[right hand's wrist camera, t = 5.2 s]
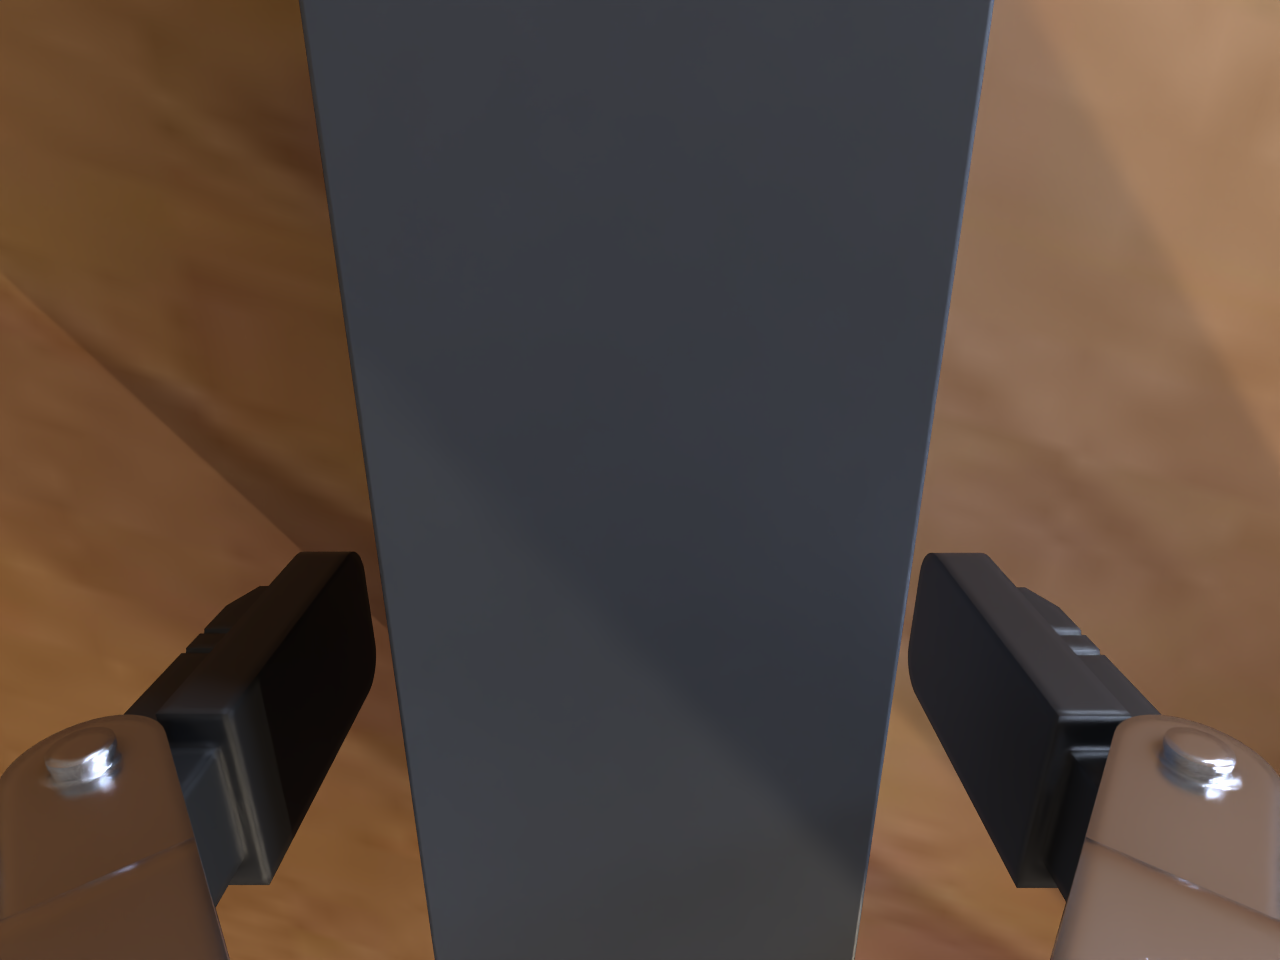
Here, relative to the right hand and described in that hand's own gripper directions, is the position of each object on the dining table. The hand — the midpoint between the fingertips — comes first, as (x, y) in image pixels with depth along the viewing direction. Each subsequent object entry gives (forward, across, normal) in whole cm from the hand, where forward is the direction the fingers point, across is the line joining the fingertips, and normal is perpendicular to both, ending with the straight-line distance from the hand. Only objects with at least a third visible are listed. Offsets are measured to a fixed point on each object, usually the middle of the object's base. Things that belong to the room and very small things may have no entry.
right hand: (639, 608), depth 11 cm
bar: (+5, 0, -18) cm, 18 cm away
